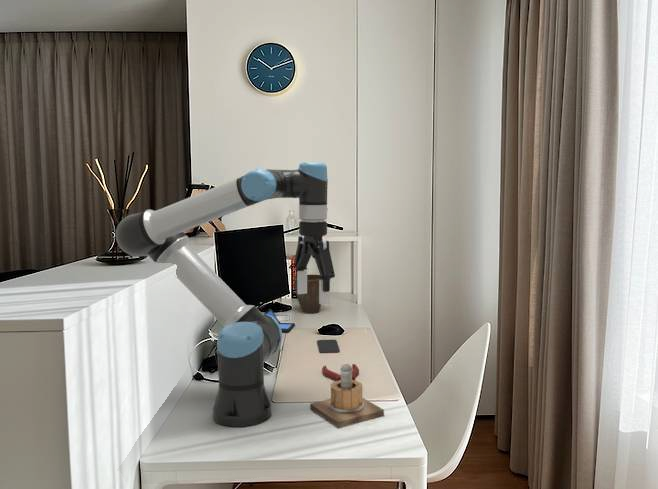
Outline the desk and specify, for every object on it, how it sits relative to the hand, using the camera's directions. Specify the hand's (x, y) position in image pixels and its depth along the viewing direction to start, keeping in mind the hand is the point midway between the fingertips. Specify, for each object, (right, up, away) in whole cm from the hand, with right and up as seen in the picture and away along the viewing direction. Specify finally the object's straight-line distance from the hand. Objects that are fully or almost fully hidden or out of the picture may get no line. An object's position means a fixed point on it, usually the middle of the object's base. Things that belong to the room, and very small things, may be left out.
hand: (312, 298), depth 159 cm
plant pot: (-4, -16, +107) cm, 109 cm away
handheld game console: (-16, -20, +79) cm, 83 cm away
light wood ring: (+9, -27, -5) cm, 29 cm away
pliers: (+7, -27, +19) cm, 34 cm away
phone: (+4, -23, +53) cm, 58 cm away
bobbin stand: (+9, -29, -5) cm, 31 cm away
